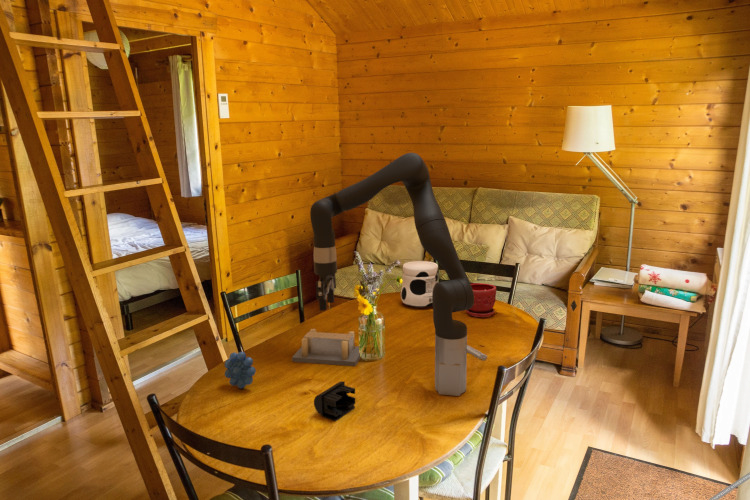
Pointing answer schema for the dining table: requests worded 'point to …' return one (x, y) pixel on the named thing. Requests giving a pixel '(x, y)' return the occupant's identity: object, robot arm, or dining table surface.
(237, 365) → the grapes
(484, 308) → the plant pot
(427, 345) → the dining table surface
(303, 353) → the peg rack
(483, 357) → the adjustable wrench
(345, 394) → the end cap
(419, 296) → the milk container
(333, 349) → the steel bar
